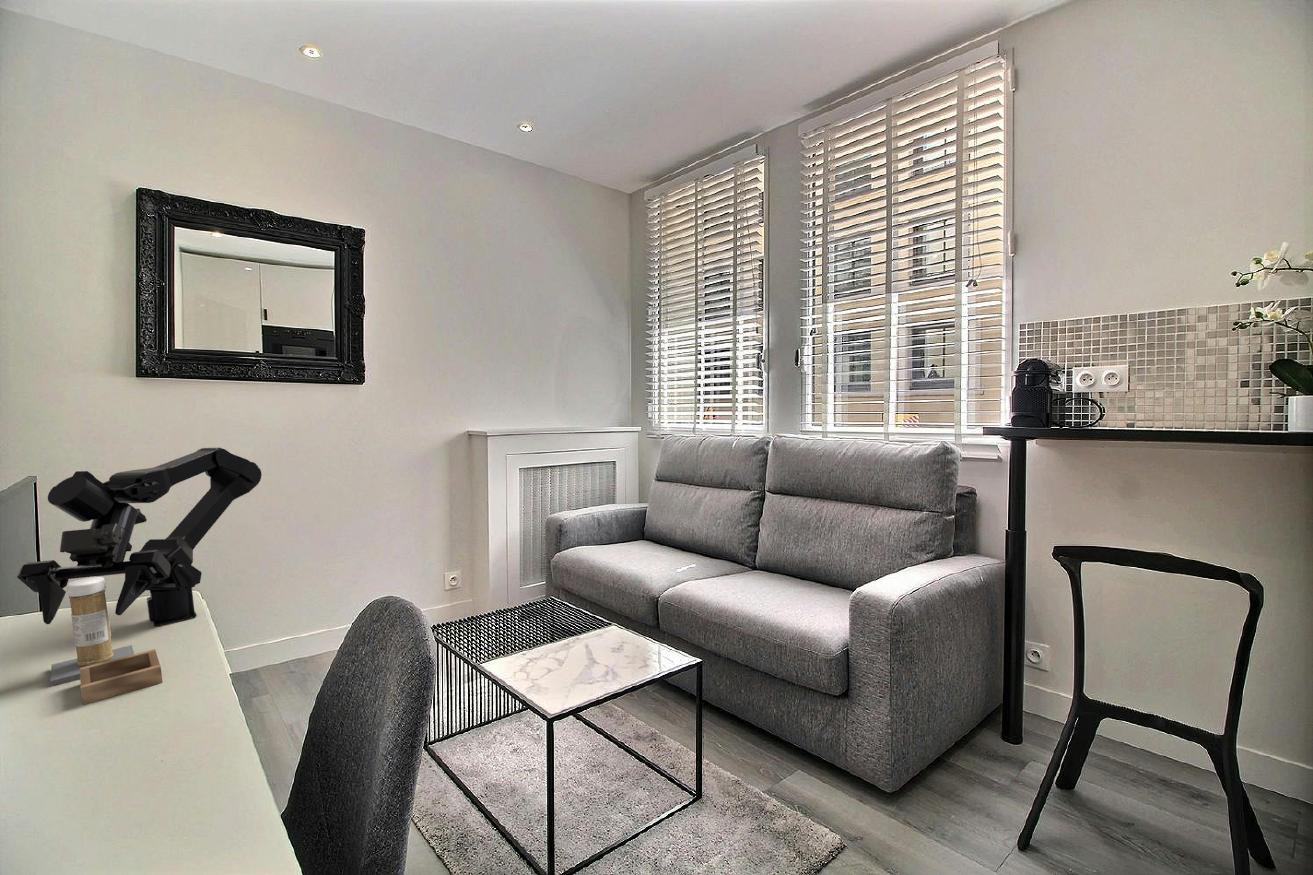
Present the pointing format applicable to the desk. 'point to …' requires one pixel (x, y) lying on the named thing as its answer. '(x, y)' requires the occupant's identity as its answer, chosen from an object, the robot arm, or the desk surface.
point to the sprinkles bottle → (90, 620)
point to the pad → (72, 670)
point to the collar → (119, 676)
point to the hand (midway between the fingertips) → (82, 618)
